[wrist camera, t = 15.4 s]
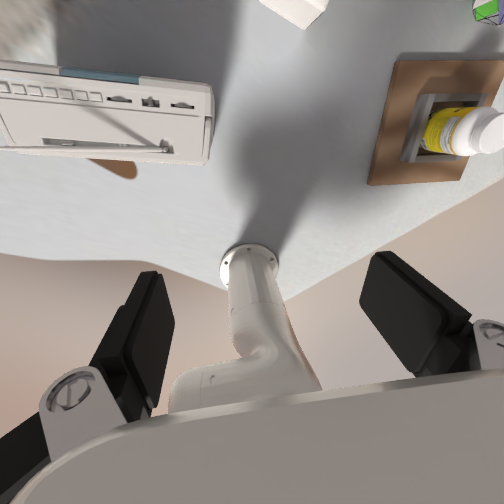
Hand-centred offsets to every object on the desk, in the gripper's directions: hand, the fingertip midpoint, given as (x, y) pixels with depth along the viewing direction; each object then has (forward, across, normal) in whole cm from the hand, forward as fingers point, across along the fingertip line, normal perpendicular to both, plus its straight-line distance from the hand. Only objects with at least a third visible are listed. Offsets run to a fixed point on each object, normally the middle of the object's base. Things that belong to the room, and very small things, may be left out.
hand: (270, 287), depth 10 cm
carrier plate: (+33, -34, -4) cm, 48 cm away
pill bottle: (+32, -34, -4) cm, 47 cm away
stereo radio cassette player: (+34, +13, -7) cm, 37 cm away
